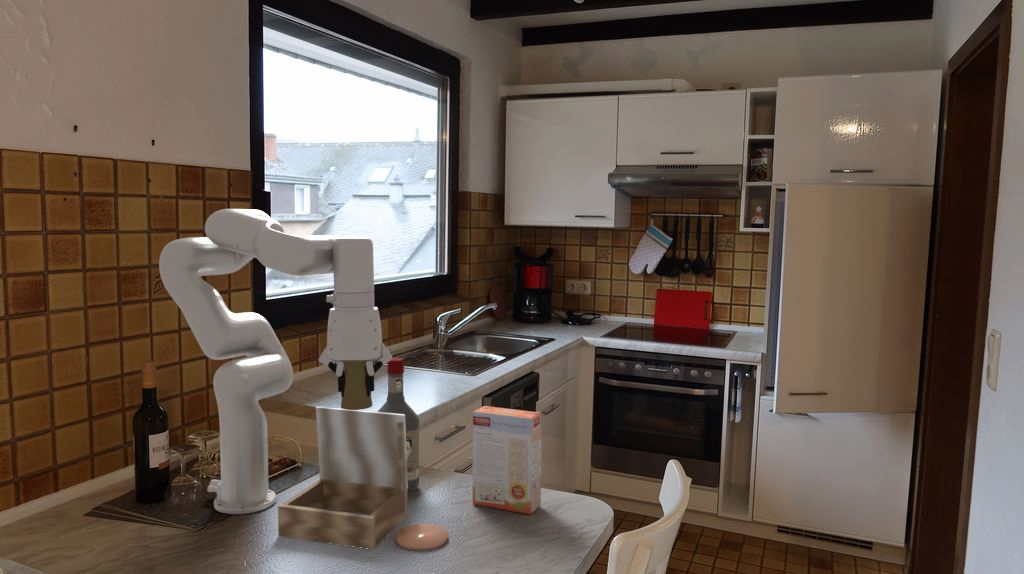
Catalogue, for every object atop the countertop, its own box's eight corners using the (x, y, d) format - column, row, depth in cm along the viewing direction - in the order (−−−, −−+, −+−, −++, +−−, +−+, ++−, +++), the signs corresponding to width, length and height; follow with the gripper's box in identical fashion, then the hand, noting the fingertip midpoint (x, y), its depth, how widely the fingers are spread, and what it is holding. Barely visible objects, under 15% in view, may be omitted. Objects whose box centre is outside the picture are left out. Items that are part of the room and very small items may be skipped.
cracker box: (541, 506, 158) (543, 411, 156) (530, 516, 152) (532, 418, 150) (484, 495, 164) (484, 403, 162) (471, 504, 158) (472, 410, 156)
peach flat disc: (386, 546, 137) (386, 541, 137) (408, 525, 147) (408, 520, 147) (436, 553, 135) (436, 548, 134) (455, 531, 144) (455, 526, 144)
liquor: (368, 486, 168) (368, 358, 165) (404, 478, 173) (404, 354, 171) (386, 498, 161) (386, 364, 158) (423, 490, 166) (423, 360, 163)
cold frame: (278, 536, 141) (276, 425, 139) (322, 504, 157) (320, 404, 155) (372, 549, 136) (371, 435, 134) (407, 515, 152) (407, 412, 149)
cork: (371, 409, 138) (370, 352, 137) (339, 410, 138) (337, 353, 137) (373, 401, 144) (372, 346, 143) (342, 402, 144) (340, 347, 143)
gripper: (305, 303, 135) (308, 400, 136) (396, 302, 136) (398, 398, 138) (313, 299, 142) (316, 391, 144) (400, 298, 144) (401, 390, 145)
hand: (356, 394), depth 141 cm, fingers closed on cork, 4 cm apart
